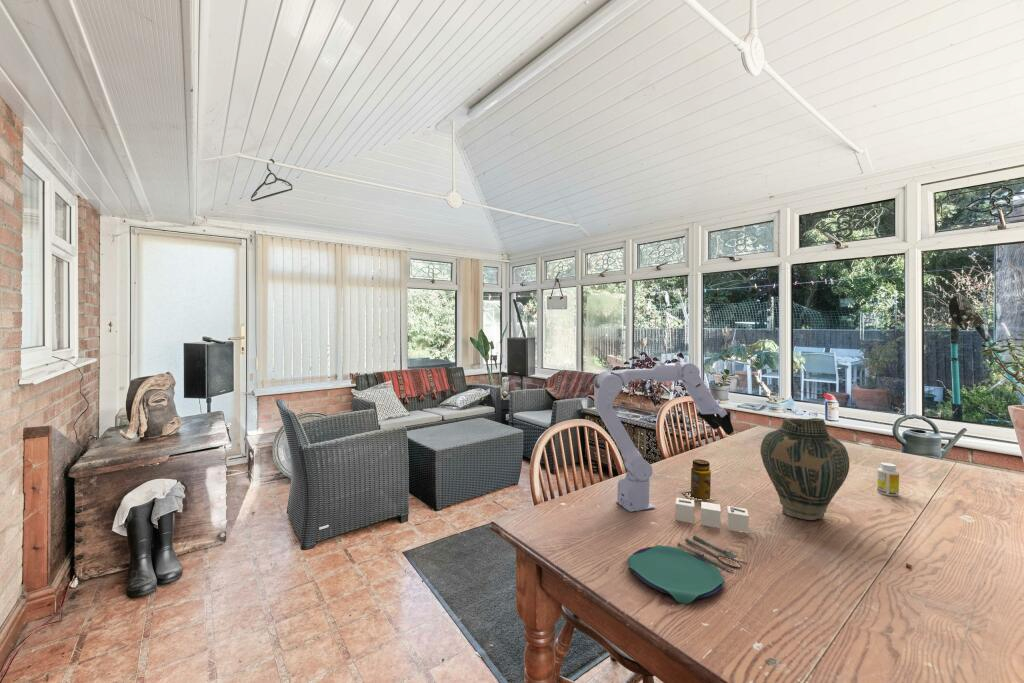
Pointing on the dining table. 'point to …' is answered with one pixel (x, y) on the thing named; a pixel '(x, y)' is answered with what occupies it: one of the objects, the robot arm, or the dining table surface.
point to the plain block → (710, 514)
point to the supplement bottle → (888, 479)
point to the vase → (804, 466)
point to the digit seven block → (737, 519)
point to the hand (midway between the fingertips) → (723, 430)
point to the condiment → (700, 480)
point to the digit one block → (684, 510)
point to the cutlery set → (679, 570)
